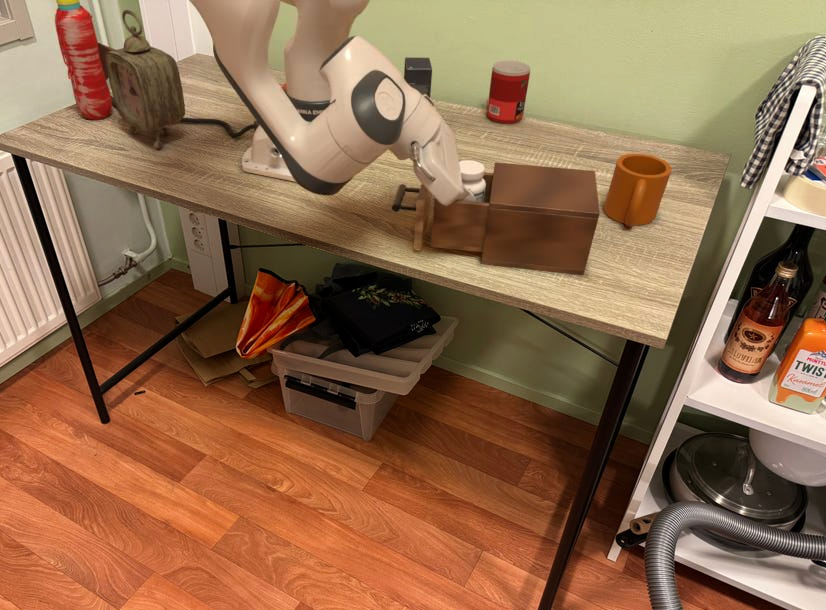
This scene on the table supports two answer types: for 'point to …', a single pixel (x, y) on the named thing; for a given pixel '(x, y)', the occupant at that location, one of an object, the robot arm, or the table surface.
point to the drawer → (448, 219)
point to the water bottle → (83, 59)
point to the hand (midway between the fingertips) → (470, 190)
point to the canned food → (508, 91)
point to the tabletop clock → (145, 84)
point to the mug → (637, 189)
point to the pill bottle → (473, 178)
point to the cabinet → (541, 218)
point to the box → (418, 74)
